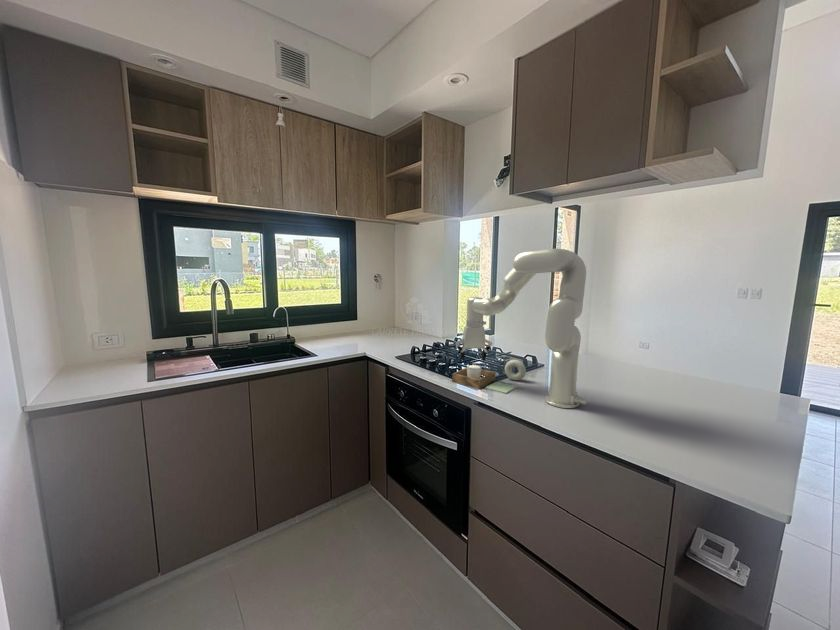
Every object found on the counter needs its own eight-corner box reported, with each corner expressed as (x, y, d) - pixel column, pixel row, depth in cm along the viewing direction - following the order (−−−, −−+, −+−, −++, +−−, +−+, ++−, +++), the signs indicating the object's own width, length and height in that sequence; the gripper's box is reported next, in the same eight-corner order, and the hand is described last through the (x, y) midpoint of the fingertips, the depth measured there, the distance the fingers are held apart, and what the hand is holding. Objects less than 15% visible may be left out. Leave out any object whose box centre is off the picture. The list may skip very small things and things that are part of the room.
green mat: (516, 387, 151) (516, 386, 151) (506, 393, 143) (506, 392, 143) (496, 382, 157) (496, 381, 157) (485, 388, 150) (485, 387, 149)
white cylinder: (471, 377, 164) (471, 364, 163) (483, 380, 160) (484, 366, 159) (463, 381, 159) (463, 367, 158) (476, 384, 154) (476, 370, 153)
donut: (526, 380, 159) (527, 360, 158) (524, 383, 156) (525, 362, 155) (505, 377, 165) (506, 357, 163) (503, 379, 162) (503, 359, 160)
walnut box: (495, 380, 160) (495, 372, 159) (479, 389, 149) (479, 380, 148) (468, 374, 169) (469, 366, 169) (452, 381, 158) (452, 373, 158)
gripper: (490, 322, 160) (488, 357, 162) (454, 322, 158) (453, 357, 161) (495, 325, 152) (493, 362, 155) (457, 325, 151) (456, 362, 154)
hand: (473, 359), depth 158 cm, fingers open, 9 cm apart
